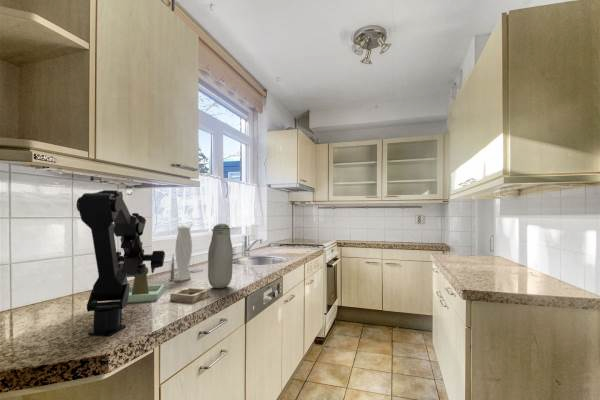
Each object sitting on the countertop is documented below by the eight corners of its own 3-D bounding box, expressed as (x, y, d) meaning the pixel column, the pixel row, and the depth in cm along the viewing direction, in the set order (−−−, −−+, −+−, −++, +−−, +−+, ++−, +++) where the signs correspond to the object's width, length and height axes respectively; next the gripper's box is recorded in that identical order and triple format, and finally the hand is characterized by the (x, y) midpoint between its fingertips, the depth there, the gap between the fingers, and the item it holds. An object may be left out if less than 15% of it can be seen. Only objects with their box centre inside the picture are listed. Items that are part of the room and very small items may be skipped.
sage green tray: (157, 300, 109) (157, 294, 109) (111, 303, 105) (111, 296, 105) (164, 290, 124) (164, 284, 124) (124, 292, 120) (124, 286, 120)
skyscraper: (185, 277, 150) (186, 221, 151) (195, 279, 145) (196, 222, 146) (169, 280, 143) (171, 222, 144) (179, 282, 138) (180, 222, 140)
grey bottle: (224, 291, 123) (226, 224, 124) (203, 289, 126) (204, 223, 127) (236, 285, 133) (237, 223, 134) (215, 284, 135) (216, 223, 137)
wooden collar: (192, 303, 107) (192, 296, 107) (170, 300, 110) (170, 293, 110) (209, 295, 116) (209, 289, 116) (188, 293, 119) (188, 287, 119)
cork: (148, 296, 113) (149, 267, 113) (130, 298, 110) (131, 268, 111) (149, 292, 118) (150, 264, 119) (132, 293, 116) (133, 265, 116)
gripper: (94, 267, 95) (105, 293, 105) (157, 264, 100) (163, 289, 110) (104, 240, 103) (114, 267, 113) (162, 239, 108) (167, 265, 118)
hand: (139, 272), depth 113 cm, fingers open, 9 cm apart
